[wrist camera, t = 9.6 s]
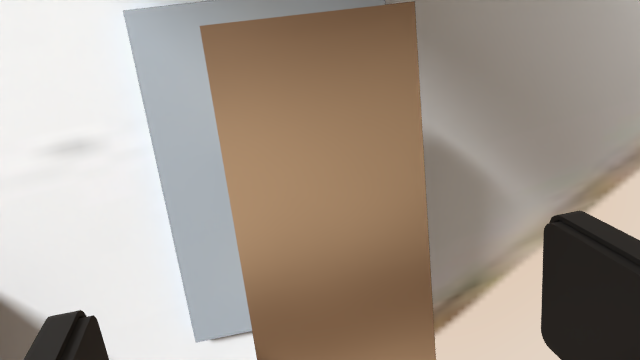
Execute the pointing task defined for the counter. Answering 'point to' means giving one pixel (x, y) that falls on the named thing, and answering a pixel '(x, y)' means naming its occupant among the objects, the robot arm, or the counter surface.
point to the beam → (327, 181)
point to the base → (199, 147)
